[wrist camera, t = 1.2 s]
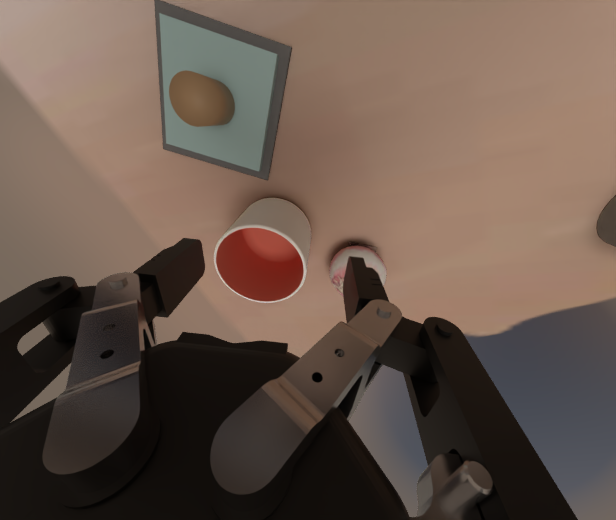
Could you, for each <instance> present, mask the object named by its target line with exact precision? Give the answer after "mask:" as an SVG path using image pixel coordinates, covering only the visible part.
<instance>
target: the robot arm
mask: <svg viewBox="0 0 616 520" xmlns="http://www.w3.org/2000/svg"><path fill="white" fill-rule="evenodd" d="M204 270H205V263H204V256H203V250H202V244H201V241H200V240H197V239H188V238H183V239H182V240H181V241H179V242H178V243H177V244H175V245H174V246H172V247H169V248H167V249H164V250H163V251H161V252H160V253H158V254H157V255H156V256H154V257H153V258H152V259H151V260H149V261H148V262H146V263H145V264H144V265H142V266H141V267H140V268H138V269H137V270H136V271H134V272H133V273H130V272H129V273H128V272H124V273H117V274H114V275H110V276H108V277H106V278H104V279H102V280H101V281H99V282H98V283H97V285H96V286H87V287H78V286H77V283H76V282H75V279H73V278H72V277H67V276H63V277H62V276H60V277H53V278H49V279H45V280H42V281H39V282H37V283H35V284H32V285H30V286H29V287H27V288H25V289H24V290H22V291H20V292H18V293H16V294H15V295H13V296H11V297H9V298H7V299H6V300H4V301H2V302H1V303H0V520H578V519H577V518H576V516H575V514H574V513H573V511H572V509H571V508H570V506H569V505H568V503H567V501H566V500H565V498H564V497H563V495H562V493H561V492H560V490H559V489H558V487H557V485H556V484H555V482H554V480H553V479H552V477H551V476H550V474H549V472H548V471H547V469H546V467H545V466H544V464H543V463H542V461H541V459H540V458H539V456H538V454H537V453H536V451H535V450H534V448H533V446H532V445H531V443H530V442H529V440H528V438H527V437H526V435H525V433H524V432H523V430H522V429H521V427H520V425H519V424H518V422H517V420H516V419H515V418H514V416H513V414H512V412H511V411H510V409H509V407H508V406H507V404H506V403H505V401H504V399H503V398H502V396H501V394H500V393H499V391H498V390H497V388H496V386H495V385H494V383H493V382H492V380H491V378H490V377H489V375H488V374H487V372H486V370H485V369H484V367H483V365H482V364H481V362H480V361H479V359H478V358H477V356H476V354H475V352H474V351H473V349H472V348H471V346H470V344H469V343H468V341H467V339H466V338H465V336H464V335H463V333H462V332H461V330H460V329H459V328H458V327H457V326H455V325H454V324H453V323H451V322H449V321H447V320H445V319H442V318H438V317H429V318H427V319H426V320H425V321H424V323H423V324H421V323H418V322H415V321H412V320H409V319H406V318H404V317H402V313H401V311H400V309H399V308H398V307H397V306H395V305H394V304H392V303H390V302H389V300H388V297H387V295H386V292H385V290H384V287H383V286H382V285H383V284H382V282H381V281H380V280H381V279H380V277H379V274H378V273H377V272H376V271H375V270H374V269H373V268H371V267H366V264H365V261H364V258H362V257H353V256H349V258H348V262H347V266H346V271H345V276H344V281H343V296H344V304H345V312H346V320H347V324H346V323H344V322H342V321H341V322H339V323H338V324H337V325H336V326H334V327H333V328H332V329H331V330H330V331H329V332H328V333H327V334H326V335H325V336H324V337H323V338H321V339H320V340H319V341H318V342H317V343H316V344H315V345H314V346H313V347H312V348H311V349H310V350H309V351H307V352H306V353H305V354H304V355H303V356H302V357H301V358H299V357H298V356H296V355H294V354H292V353H289V352H287V349H288V343H279V342H270V341H254V342H244V343H230V342H227V341H224V340H221V339H219V338H216V337H213V336H210V335H206V334H196V333H187V332H182V334H181V335H180V337H179V338H178V339H177V340H176V341H170V342H165V343H162V344H158V345H157V339H156V332H155V324H154V321H153V319H154V318H155V317H156V316H159V317H168V316H169V315H170V314H171V313H172V312H173V310H174V309H175V308H176V307H177V306H178V304H179V303H180V302H181V301H182V300H183V298H184V297H185V296H186V295H187V294H188V292H189V291H190V290H191V289H192V288H193V286H194V285H195V284H196V283H197V282H198V281H199V279H200V278H201V277H202V276H203V274H204ZM41 322H43V324H44V325H45V327H46V328H47V330H48V331H49V333H50V334H49V335H48V336H47V337H45V338H44V339H43V340H42V341H40V342H39V343H38V344H37V345H35V346H34V347H33V348H32V349H30V350H29V351H28V352H27V353H25V354H24V355H23V356H22V355H21V354H20V353H19V351H18V349H17V344H18V342H19V340H20V339H21V338H22V336H24V335H25V334H26V333H28V332H29V331H30V330H32V329H33V328H35V327H36V326H37V325H39V324H40V323H41ZM70 363H71V367H70V371H69V376H68V381H67V386H66V389H65V391H64V392H63V393H62V394H60V395H59V396H58V397H57V398H55V399H53V400H52V401H50V402H48V403H46V404H44V405H42V406H40V407H39V408H37V409H35V410H33V411H31V412H30V413H27V414H26V415H24V416H22V417H20V418H18V419H16V420H15V421H13V422H11V421H12V420H13V419H14V418H15V417H16V416H17V415H18V414H19V413H20V412H21V411H22V410H23V409H24V408H25V407H26V406H27V405H28V404H29V403H30V402H31V401H32V400H33V399H34V398H35V397H36V396H38V395H39V394H40V393H41V392H42V390H44V388H46V386H47V385H49V384H50V383H51V382H52V381H53V380H54V379H55V378H56V377H57V376H58V375H59V374H60V373H61V372H62V371H63V370H64V369H65V368H66V367H67V366H68V365H69V364H70ZM383 365H386V366H388V367H391V368H393V369H396V370H398V371H401V372H403V374H404V377H405V381H406V384H407V388H408V392H409V396H410V400H411V403H412V407H413V411H414V415H415V418H416V422H417V426H418V430H419V433H420V437H421V441H422V445H423V448H424V452H425V456H426V460H427V463H428V467H427V468H426V469H425V471H424V472H423V473H422V474H421V476H420V477H419V480H418V483H417V497H418V512H417V516H416V517H409V515H408V512H407V510H406V508H405V506H404V504H403V502H402V500H401V498H400V496H399V495H398V493H397V491H396V490H395V489H394V487H393V485H392V484H391V483H390V481H389V480H388V478H387V477H386V475H385V474H384V473H383V471H382V470H381V468H380V467H379V465H378V464H377V462H376V461H375V459H374V458H373V456H372V455H371V453H370V452H369V451H368V449H367V448H366V446H365V445H364V443H363V442H362V440H361V439H360V437H359V436H358V435H357V433H356V432H355V430H354V429H353V427H352V426H351V424H350V423H349V420H350V418H351V417H352V415H353V413H354V411H355V410H356V408H357V406H358V404H359V402H360V400H361V398H362V396H363V395H364V393H365V391H366V390H367V388H368V387H369V385H370V384H371V382H372V381H373V379H374V378H375V376H376V375H377V373H378V372H379V370H380V368H381V367H382V366H383ZM10 422H11V423H10Z"/></svg>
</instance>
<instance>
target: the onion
mask: <svg viewBox="0 0 616 520" xmlns="http://www.w3.org/2000/svg"><path fill="white" fill-rule="evenodd" d="M348 243H349V244H351V245H352V246H350V247H346V248H343V249H341V250H340V251H339V252H338V253H336V254H335V256H334V257H333V259H332V261H331V265H330V270H329V273H330V279H331V282H332V284H333V286H334V287H335V289H336V290H337V291H338V292H339V293H340V294H341V295H342V296H343V281H344V276H345V271H346V266H347V262H348V258H349V256H353V257H362V258H364V261H365V264H366V267H371V268H373V269H374V270H375V271H376V272H377V273H378V274H379V277H380V279H381V280H380V281H381V282H382V284H383V285H382V286H384V284H385V281H386V276H387V271H386V267H385V265H384V263H383V261H382V259H381V258H380V257H379V256H378V254H377V253H376V247H373V246H368V245H361V246H357V245H358V243H354V242H348ZM363 246H365V247H363ZM343 297H344V296H343Z"/></svg>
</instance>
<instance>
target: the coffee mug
mask: <svg viewBox="0 0 616 520" xmlns="http://www.w3.org/2000/svg"><path fill="white" fill-rule="evenodd" d="M597 232H598V235H599V237H600V238H601V239H602V240H603V241H605V242H606V243H609V244H611V245H613V246H615V247H616V196H615V197H614V198H613V199H612V200H611V201H610V202H609V203H608V204H607V206H606V207H605V208H604V209H603V211H602V213H601V215H600V217H599V219H598V223H597Z"/></svg>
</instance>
